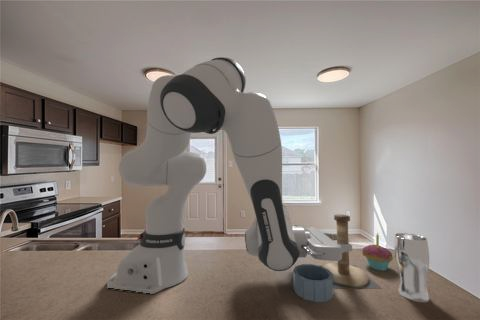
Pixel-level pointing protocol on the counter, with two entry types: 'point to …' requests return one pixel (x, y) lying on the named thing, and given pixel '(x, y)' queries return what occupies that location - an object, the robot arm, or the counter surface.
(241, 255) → the counter surface
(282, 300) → the counter surface
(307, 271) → the bowl
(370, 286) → the mat
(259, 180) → the robot arm
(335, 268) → the brown piece
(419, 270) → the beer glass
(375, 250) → the cupcake
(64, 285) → the counter surface
